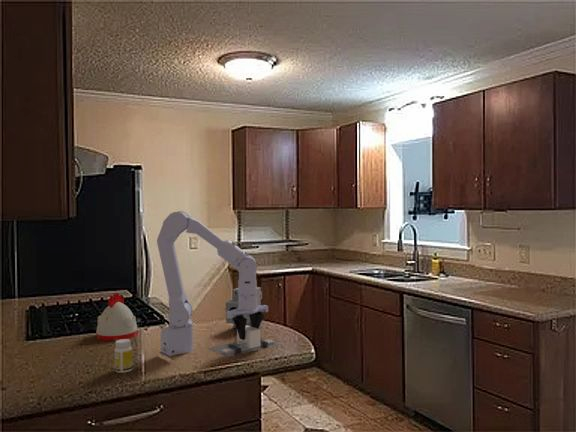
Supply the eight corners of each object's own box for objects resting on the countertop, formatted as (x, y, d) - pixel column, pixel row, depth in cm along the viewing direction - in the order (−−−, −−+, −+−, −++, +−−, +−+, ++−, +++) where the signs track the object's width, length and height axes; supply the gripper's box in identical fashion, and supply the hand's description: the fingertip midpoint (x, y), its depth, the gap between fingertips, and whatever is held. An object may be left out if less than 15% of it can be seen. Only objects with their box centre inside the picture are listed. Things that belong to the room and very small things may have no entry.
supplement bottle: (134, 367, 149) (133, 338, 149) (130, 373, 145) (129, 342, 144) (117, 367, 149) (116, 338, 149) (112, 373, 145) (111, 343, 144)
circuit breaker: (223, 334, 185) (222, 292, 184) (245, 325, 197) (244, 285, 197) (241, 336, 181) (240, 293, 181) (262, 327, 194) (261, 287, 193)
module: (249, 348, 160) (249, 331, 160) (237, 343, 165) (236, 327, 165) (260, 345, 162) (260, 329, 162) (247, 341, 168) (247, 325, 168)
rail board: (227, 360, 155) (227, 351, 155) (206, 351, 164) (206, 343, 164) (280, 347, 168) (280, 339, 168) (258, 339, 177) (258, 332, 177)
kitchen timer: (87, 339, 181) (86, 296, 181) (113, 329, 194) (112, 289, 194) (121, 342, 177) (120, 298, 176) (145, 332, 190) (144, 291, 189)
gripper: (235, 299, 156) (235, 344, 156) (273, 293, 165) (274, 336, 165) (222, 296, 161) (223, 339, 162) (260, 290, 170) (261, 331, 171)
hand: (248, 337), depth 164 cm, fingers closed on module, 4 cm apart
